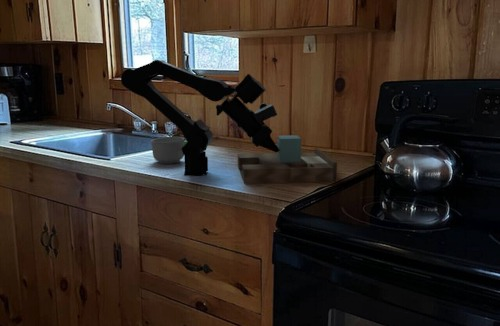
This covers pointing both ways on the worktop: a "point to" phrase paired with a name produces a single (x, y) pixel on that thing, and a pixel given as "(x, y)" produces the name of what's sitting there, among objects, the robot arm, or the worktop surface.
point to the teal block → (289, 148)
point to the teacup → (168, 149)
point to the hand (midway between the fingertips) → (278, 151)
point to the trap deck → (287, 168)
